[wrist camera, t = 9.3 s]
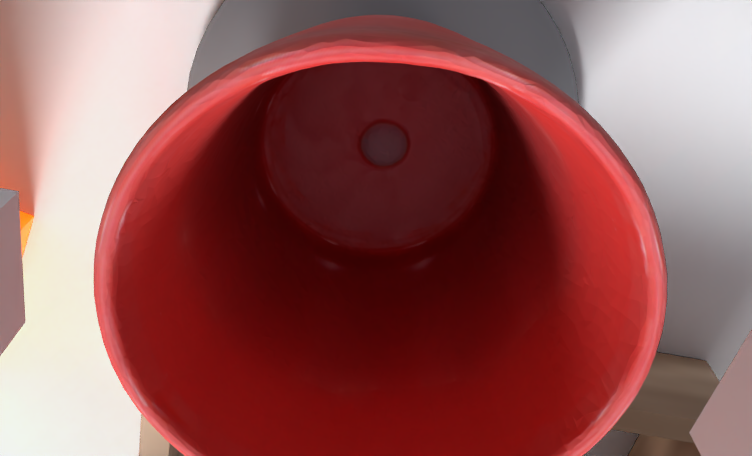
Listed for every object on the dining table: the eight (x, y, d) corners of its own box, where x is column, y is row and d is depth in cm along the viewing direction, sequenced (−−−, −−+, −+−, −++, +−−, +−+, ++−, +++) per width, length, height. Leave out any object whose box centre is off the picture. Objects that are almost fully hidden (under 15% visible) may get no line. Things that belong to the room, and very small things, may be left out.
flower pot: (544, -85, 18) (687, -25, 10) (561, 263, 23) (665, 500, 15) (159, -13, 19) (-18, 98, 11) (258, 306, 24) (193, 552, 16)
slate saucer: (208, -122, 18) (203, -121, 18) (633, -24, 20) (640, -21, 19) (177, 255, 24) (172, 264, 24) (507, 314, 25) (510, 324, 25)
